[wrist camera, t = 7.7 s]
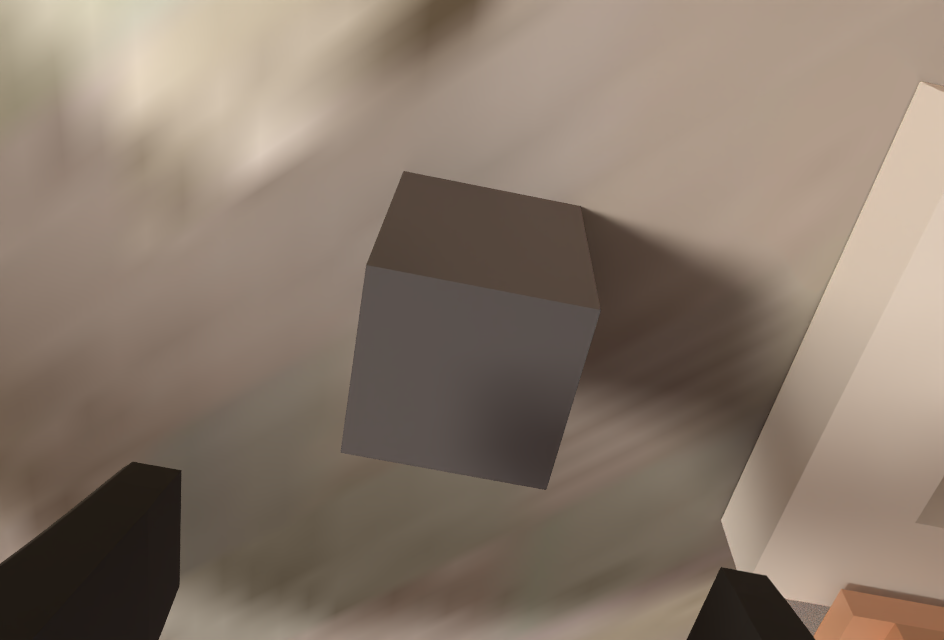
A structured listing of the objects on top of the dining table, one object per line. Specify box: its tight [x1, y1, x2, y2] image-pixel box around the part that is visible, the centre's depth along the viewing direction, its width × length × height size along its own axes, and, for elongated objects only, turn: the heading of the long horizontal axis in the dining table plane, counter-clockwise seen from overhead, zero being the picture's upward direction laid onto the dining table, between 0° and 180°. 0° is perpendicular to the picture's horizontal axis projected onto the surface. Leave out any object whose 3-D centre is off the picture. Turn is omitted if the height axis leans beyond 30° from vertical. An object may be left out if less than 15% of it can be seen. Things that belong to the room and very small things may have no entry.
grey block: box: [341, 171, 601, 490], centre depth 16 cm, size 4×4×5 cm
